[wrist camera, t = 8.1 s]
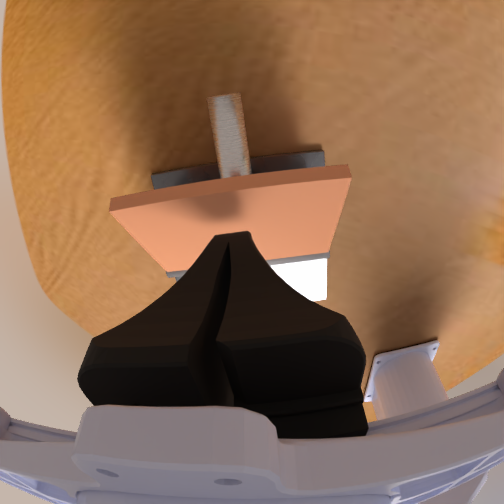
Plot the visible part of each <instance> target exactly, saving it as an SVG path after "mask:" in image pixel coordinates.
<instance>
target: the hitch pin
mask: <svg viewBox="0 0 504 504" xmlns="http://www.w3.org/2000/svg"><path fill="white" fill-rule="evenodd" d="M207 103H208V109H209V115H210V121H211V127H212V133H213V139H214V144H215V150H216V156H217V161H218V167H219V173H220V178H221V179H222V178H228V177H236V176H243V175H250V174H252V170H251V163H250V156H249V149H248V142H247V135H246V128H245V121H244V114H243V107H242V100H241V93H240V92H237V93H228V94H221V95H216V96H211V97H207Z"/></svg>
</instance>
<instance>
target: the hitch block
mask: <svg viewBox="0 0 504 504" xmlns="http://www.w3.org/2000/svg"><path fill="white" fill-rule="evenodd" d="M250 163H251V170H252V174H258V173H266V172H275V171H283V170H292V169H302V168H312V167H323V166H325V160H324V151H323V150H316V151H304V152H294V153H285V154H276V155H267V156H259V157H251V158H250ZM151 178H152V182H153V186H154V190H155V189H161V188H166V187H172V186H178V185H184V184H190V183H196V182H202V181H208V180H215V179H221V178H220V173H219V167H218V162H216V163H209V164H203V165H197V166H191V167H186V168H180V169H174V170H169V171H164V172H159V173H154V174H152V175H151ZM271 267H272V269H273V270H274V271H275V272H276V273H277V274H278V275H279V276H280V277H281V278H282V279H283V280H284V281H285V282H286V283H288V284H289V285H290V286H291V287H292V288H294V289H295V290H296V291H298V292H299V293H301V294H302V295H304V296H305V297H306V298H308V299H310V300H311V301H318V300H325V299H326V297H327V258H326V259H318V260H311V261H303V262H295V263H287V264H279V265H271ZM181 277H182V276H179V277H175V278H176V281H178V280H179V279H180V278H181Z"/></svg>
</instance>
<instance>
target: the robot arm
mask: <svg viewBox="0 0 504 504" xmlns="http://www.w3.org/2000/svg"><path fill="white" fill-rule="evenodd" d="M439 344H440V343H439V341H438V340H436V341H432V342H428V343H424V344H420V345H416V346H412V347H408V348H404V349H399V350H395V351H391V352H386V353H381V354H378V355H376V356H375V357H374V360H373V365H372V369H371V373H370V376H369V380H368V384H367V388H366V391H365V395H364V397H363V393H362V390H361V383H362V378H363V374H364V370H365V365H366V355H365V352H364V349H363V347H362V344H361V342H360V340H359V338H358V336H357V335H356V333H355V331H354V329H353V328H352V326H351V325H350V323H349V322H348V320H347V319H346V317H345V316H344V315H341V314H339V313H337V312H334V311H332V310H330V309H327V308H325V307H323V306H321V305H319V304H317V303H315V302H313V301H311V300H310V299H308V298H306V297H305V296H304V295H302V294H301V293H299V292H298V291H296V290H295V289H294V288H292V287H291V286H290V285H289V284H288V283H286V282H285V281H284V280H283V279H282V278H281V277H280V276H279V275H278V274H277V273H276V272H275V271H274V270H273V269H272V267H271V266H270V265H269V264H268V263H267V261H266V260H265V259H264V257H263V256H262V255H261V253H260V252H259V250H258V249H257V247H256V245H255V243H254V241H253V239H252V235H251V233H250V232H249V231H242V232H234V233H226V234H219V235H214V237H213V238H212V239H211V241H210V242H209V243H208V245H207V246H206V247H205V249H204V250H203V252H202V253H201V254H200V256H199V257H198V258H197V259H196V261H195V262H194V263H193V265H192V266H191V267H190V268H189V269H188V270H187V271H186V273H185V274H184V275H183V276H182V277H181V278H180V279H179V280H178V281H177V282H176V283H175V284H174V285H173V286H172V287H171V288H170V289H169V290H168V291H167V292H166V293H164V294H163V295H162V296H161V297H160V298H158V299H157V300H156V301H154V302H153V303H152V304H151V305H149V306H148V307H147V308H145V309H144V310H143V311H141V312H140V313H138V314H136V315H135V316H133V317H132V318H130V319H129V320H127V321H125V322H124V323H122V324H120V325H118V326H116V327H114V328H112V329H110V330H109V331H107V332H105V333H103V334H101V335H99V336H96V337H94V338H92V340H91V343H90V345H89V347H88V350H87V352H86V355H85V357H84V360H83V363H82V365H81V368H80V370H79V373H78V378H77V379H78V383H79V387H80V388H81V390H82V391H83V393H84V394H85V395H86V397H87V398H88V399H89V400H90V402H91V403H92V404H93V405H94V406H92V407H88V408H87V409H86V411H85V412H84V413H83V415H82V418H81V421H80V425H79V428H78V432H72V431H66V430H61V429H56V428H50V427H46V426H42V425H37V424H33V423H29V422H25V421H21V420H17V419H13V418H11V417H10V415H8V413H7V412H5V410H4V409H2V408H1V407H0V480H1V481H3V482H5V483H7V484H9V485H11V486H14V487H16V488H18V489H21V490H23V491H25V492H27V493H29V494H32V495H34V496H37V497H39V498H41V499H44V500H46V501H49V502H52V503H54V504H471V503H472V501H473V499H474V498H475V497H476V495H477V494H478V493H479V491H480V490H481V488H482V487H483V485H484V484H485V482H486V480H487V478H488V475H487V473H488V472H489V470H490V469H491V468H493V467H495V466H497V465H499V464H500V463H502V462H504V368H503V370H502V371H501V373H500V374H499V376H498V378H497V380H496V381H494V382H492V383H490V384H487V385H485V386H482V387H480V388H478V389H475V390H473V391H470V392H467V393H465V394H462V395H460V396H457V397H454V398H451V399H449V398H448V396H447V394H446V391H445V389H444V387H443V385H442V382H441V380H440V378H439V376H438V374H437V371H436V369H435V367H434V365H433V363H432V361H433V359H434V356H435V354H436V351H437V349H438V347H439ZM363 401H364V402H369V401H372V404H373V407H374V410H375V414H376V417H377V421H373V422H369V423H367V419H366V415H365V412H364V408H363V404H362V403H363Z"/></svg>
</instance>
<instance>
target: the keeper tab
mask: <svg viewBox="0 0 504 504" xmlns="http://www.w3.org/2000/svg"><path fill="white" fill-rule="evenodd" d="M351 179H352V176H351V173H350V170H349V167H348V164H347V165H334V166H323V167H312V168H302V169H292V170H283V171H275V172H266V173H258V174H250V175H243V176H236V177H228V178H222V179H215V180H208V181H202V182H196V183H190V184H184V185H178V186H172V187H166V188H161V189H155V190H150V191H145V192H140V193H135V194H130V195H125V196H120V197H115V198H111V201H110V208H109V212H110V213H111V214H112V216H113V217H114V218H115V219H116V220H117V221H118V222H119V223H120V224H121V225H122V226H123V227H124V228H125V229H126V230H127V232H128V233H129V234H130V235H131V236H132V237H133V238H134V239H135V240H136V241H137V242H138V243H139V244H140V245H141V246H142V247H143V248H144V249H145V250H146V251H147V252H148V253H149V254H150V255H151V256H152V257H153V258H154V259H155V260H156V261H157V262H158V263H159V264H160V265H161V266H162V267H163V268H164V269H165V270H166V274H167V276H168V278H170V277H179V276H183V275H184V274H185V273H186V271H187V270H188V269H189V268H190V267H191V266H192V265H193V263H194V262H195V261H196V259H197V258H198V257H199V256H200V254H201V253H202V252H203V250H204V249H205V247H206V246H207V245H208V243H209V242H210V241H211V239H212V238H213V237H214V235H219V234H226V233H234V232H242V231H249V232H250V233H251V235H252V239H253V241H254V243H255V245H256V247H257V249H258V250H259V252H260V253H261V255H262V256H263V257H264V259H265V260H266V261H267V263H268V264H269V265H270V266H271V265H279V264H287V263H295V262H303V261H311V260H318V259H326V258H329V257H330V250H329V249H330V246H331V243H332V240H333V237H334V234H335V231H336V227H337V224H338V221H339V218H340V215H341V212H342V209H343V206H344V202H345V199H346V196H347V193H348V189H349V186H350V183H351Z"/></svg>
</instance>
